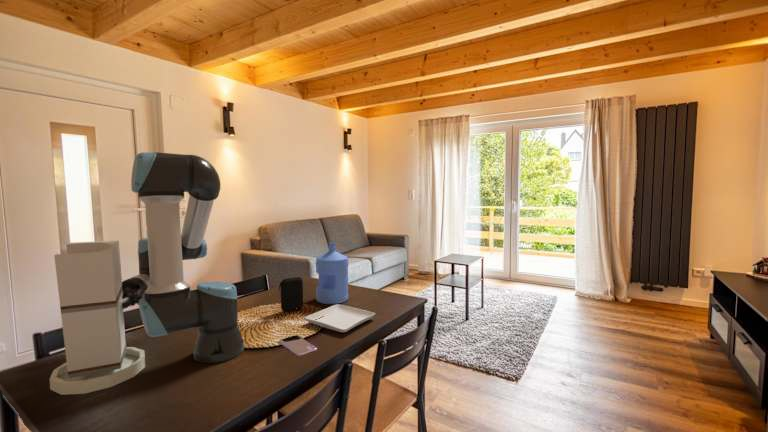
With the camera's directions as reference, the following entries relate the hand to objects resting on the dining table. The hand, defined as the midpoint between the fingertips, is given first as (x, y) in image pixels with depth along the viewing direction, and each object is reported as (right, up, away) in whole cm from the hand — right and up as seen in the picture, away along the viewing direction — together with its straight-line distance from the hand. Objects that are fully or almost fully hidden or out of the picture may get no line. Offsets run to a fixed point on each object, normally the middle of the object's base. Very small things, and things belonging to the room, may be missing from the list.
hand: (88, 310), depth 97 cm
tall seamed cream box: (-1, -17, +5) cm, 17 cm away
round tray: (0, -20, +5) cm, 20 cm away
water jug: (+57, -15, +74) cm, 95 cm away
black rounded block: (+41, -16, +59) cm, 73 cm away
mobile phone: (+52, -19, +24) cm, 61 cm away
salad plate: (+65, -18, +46) cm, 81 cm away
